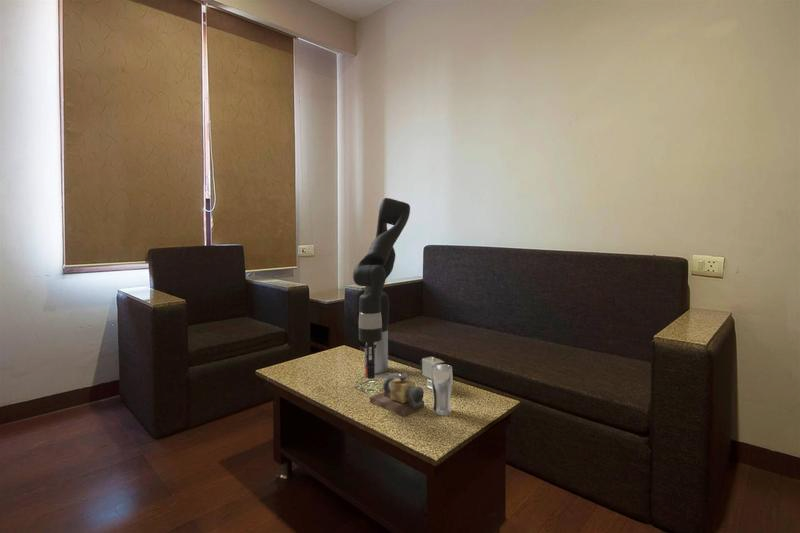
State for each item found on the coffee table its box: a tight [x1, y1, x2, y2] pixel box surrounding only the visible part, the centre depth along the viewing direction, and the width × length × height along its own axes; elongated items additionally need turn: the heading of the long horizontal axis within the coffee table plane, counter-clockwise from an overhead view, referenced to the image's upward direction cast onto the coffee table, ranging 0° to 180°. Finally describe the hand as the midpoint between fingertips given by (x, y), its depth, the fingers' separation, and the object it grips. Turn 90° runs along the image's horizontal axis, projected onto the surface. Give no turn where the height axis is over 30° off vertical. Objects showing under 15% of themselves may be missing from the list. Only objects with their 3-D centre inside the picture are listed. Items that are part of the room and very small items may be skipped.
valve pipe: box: [369, 378, 425, 417], centre depth 145 cm, size 17×10×10 cm, turn 47°
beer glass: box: [430, 363, 454, 416], centre depth 140 cm, size 7×7×15 cm
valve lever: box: [363, 363, 408, 379], centre depth 144 cm, size 14×3×5 cm, turn 91°
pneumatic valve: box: [419, 356, 447, 390], centre depth 160 cm, size 6×12×12 cm, turn 34°
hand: (371, 377), depth 140 cm, fingers closed
